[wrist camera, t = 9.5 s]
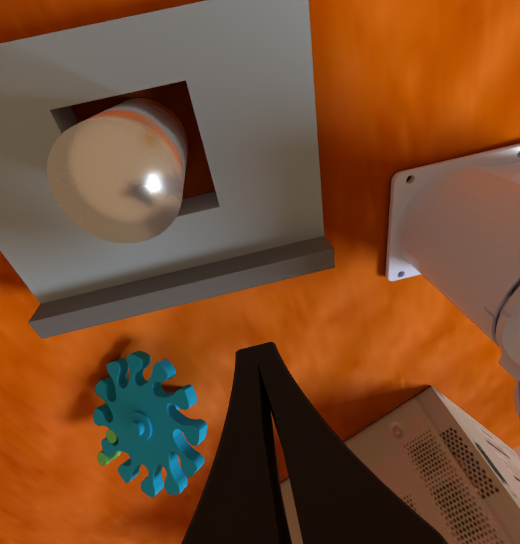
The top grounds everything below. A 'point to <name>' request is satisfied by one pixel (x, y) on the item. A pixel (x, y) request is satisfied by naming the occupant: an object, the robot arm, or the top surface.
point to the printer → (440, 471)
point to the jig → (217, 144)
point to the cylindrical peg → (121, 171)
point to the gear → (148, 424)
